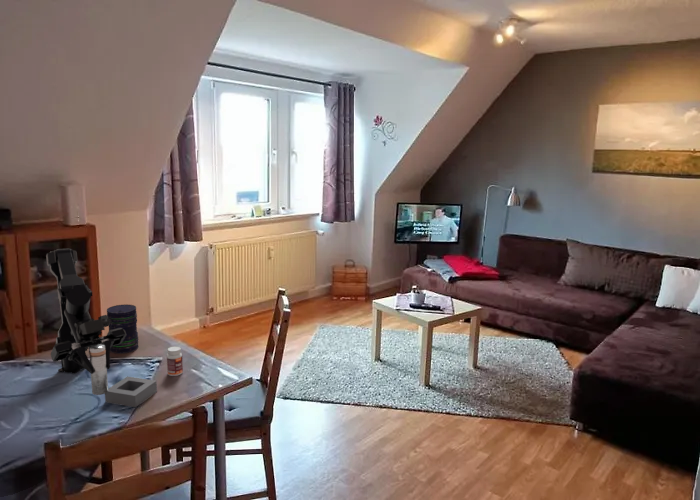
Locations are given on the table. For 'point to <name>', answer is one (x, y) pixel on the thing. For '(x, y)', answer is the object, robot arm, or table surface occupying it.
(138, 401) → the socket block
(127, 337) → the storage jar
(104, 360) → the frosted bottle
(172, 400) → the table surface
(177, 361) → the pill bottle
